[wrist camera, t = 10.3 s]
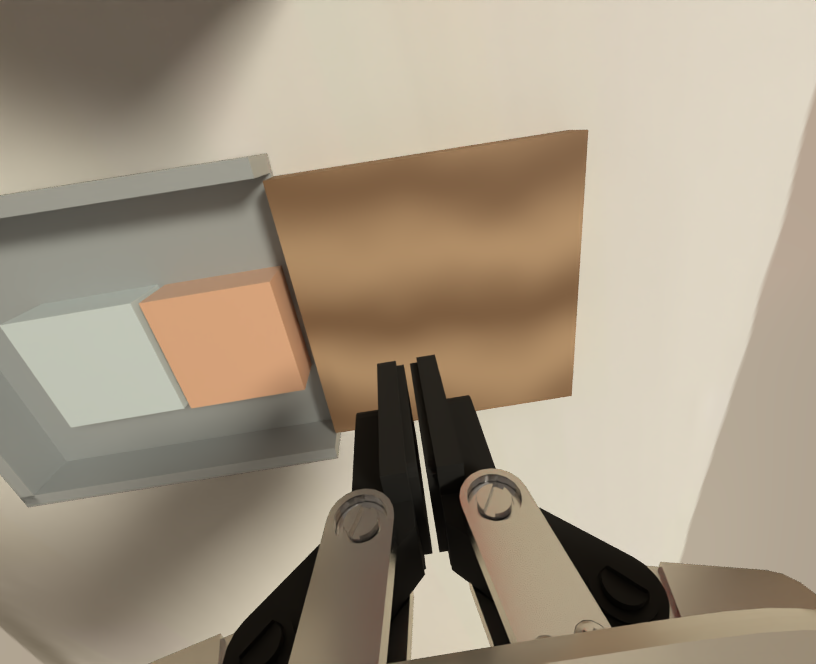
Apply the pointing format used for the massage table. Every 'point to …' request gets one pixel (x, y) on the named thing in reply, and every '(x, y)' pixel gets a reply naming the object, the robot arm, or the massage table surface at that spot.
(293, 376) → the terracotta tile
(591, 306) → the massage table surface
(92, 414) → the pale blue tile
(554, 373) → the walnut plate
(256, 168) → the grey tray
